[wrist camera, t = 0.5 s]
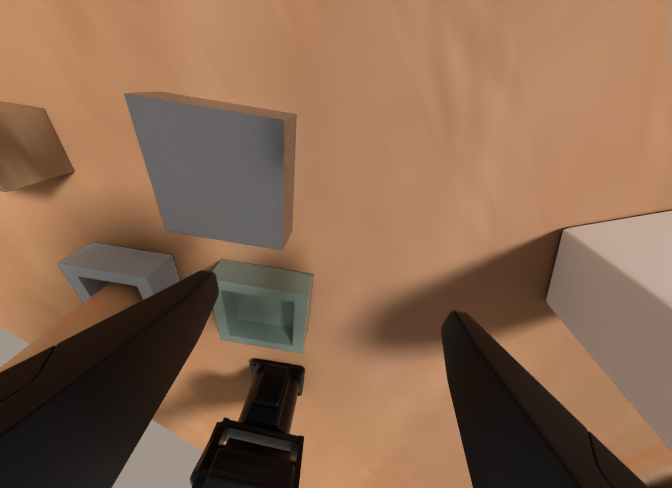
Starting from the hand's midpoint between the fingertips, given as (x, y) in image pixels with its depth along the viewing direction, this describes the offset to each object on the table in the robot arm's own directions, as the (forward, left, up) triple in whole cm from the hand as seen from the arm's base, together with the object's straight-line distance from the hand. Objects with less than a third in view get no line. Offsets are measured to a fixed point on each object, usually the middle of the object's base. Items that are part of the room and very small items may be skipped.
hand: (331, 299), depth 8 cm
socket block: (-12, +18, -10) cm, 24 cm away
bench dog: (0, +21, -10) cm, 23 cm away
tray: (-12, +6, -10) cm, 17 cm away
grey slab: (0, +8, -10) cm, 13 cm away
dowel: (-12, +18, -10) cm, 24 cm away
